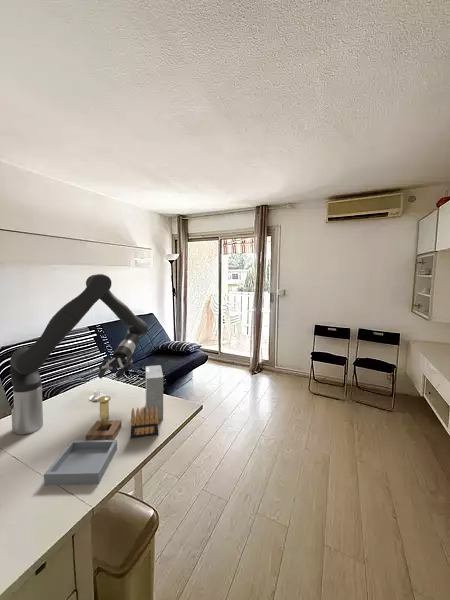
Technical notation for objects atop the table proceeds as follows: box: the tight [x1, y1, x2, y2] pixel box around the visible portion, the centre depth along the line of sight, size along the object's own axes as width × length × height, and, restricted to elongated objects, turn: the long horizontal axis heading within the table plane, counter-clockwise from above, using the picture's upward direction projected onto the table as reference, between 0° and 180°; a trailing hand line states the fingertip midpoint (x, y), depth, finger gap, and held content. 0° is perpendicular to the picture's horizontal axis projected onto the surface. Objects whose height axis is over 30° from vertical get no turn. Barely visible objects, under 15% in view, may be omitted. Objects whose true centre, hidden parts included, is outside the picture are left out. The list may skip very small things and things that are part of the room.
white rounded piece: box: [88, 388, 102, 402], centre depth 134 cm, size 9×8×4 cm
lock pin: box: [97, 395, 111, 431], centre depth 102 cm, size 4×4×15 cm
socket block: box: [85, 419, 123, 441], centre depth 103 cm, size 10×10×3 cm
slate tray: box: [43, 439, 118, 486], centre depth 86 cm, size 16×16×4 cm
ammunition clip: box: [129, 406, 159, 439], centre depth 103 cm, size 11×2×12 cm, turn 104°
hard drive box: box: [145, 364, 164, 421], centre depth 120 cm, size 16×8×20 cm, turn 18°
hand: (108, 377), depth 111 cm, fingers open, 8 cm apart
